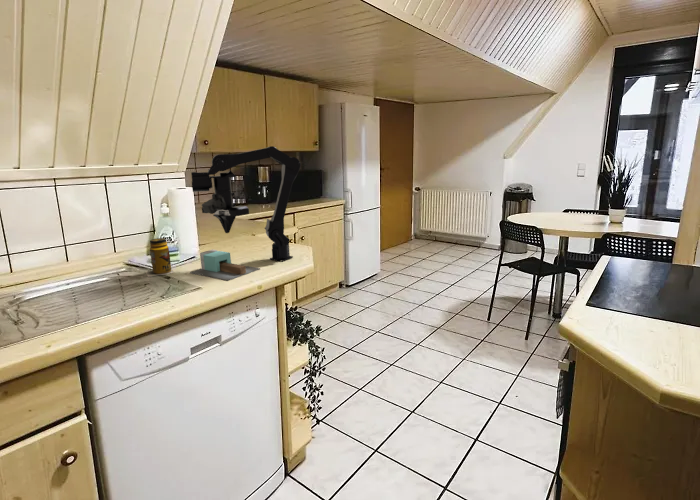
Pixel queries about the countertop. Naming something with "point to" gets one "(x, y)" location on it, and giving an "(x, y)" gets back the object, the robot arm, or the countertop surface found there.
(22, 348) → the countertop surface
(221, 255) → the block
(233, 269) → the rail track
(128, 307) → the countertop surface
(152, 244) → the condiment
